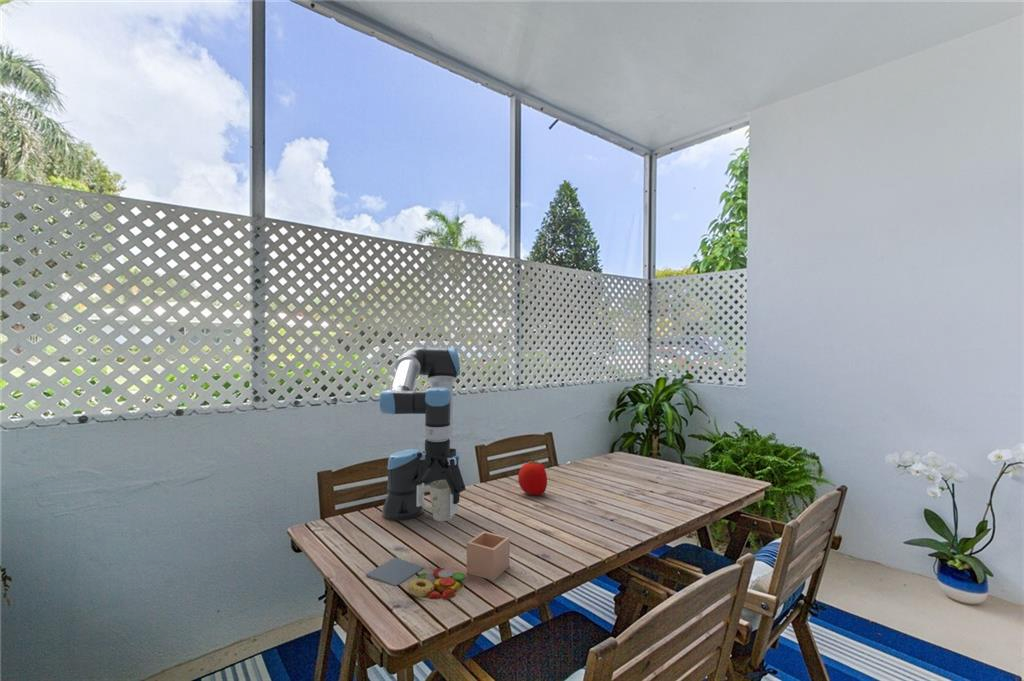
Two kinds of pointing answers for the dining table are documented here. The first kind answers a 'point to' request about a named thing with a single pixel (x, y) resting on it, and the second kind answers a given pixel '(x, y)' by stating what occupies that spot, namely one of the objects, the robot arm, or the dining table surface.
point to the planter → (488, 555)
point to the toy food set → (437, 585)
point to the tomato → (533, 478)
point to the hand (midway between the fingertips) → (436, 509)
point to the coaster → (395, 571)
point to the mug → (438, 500)
